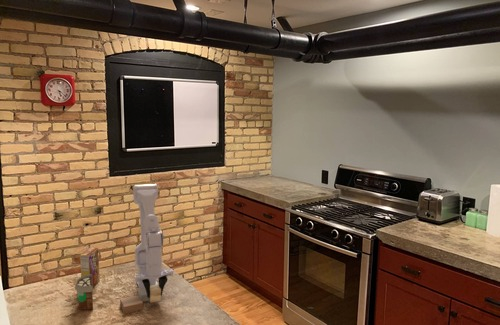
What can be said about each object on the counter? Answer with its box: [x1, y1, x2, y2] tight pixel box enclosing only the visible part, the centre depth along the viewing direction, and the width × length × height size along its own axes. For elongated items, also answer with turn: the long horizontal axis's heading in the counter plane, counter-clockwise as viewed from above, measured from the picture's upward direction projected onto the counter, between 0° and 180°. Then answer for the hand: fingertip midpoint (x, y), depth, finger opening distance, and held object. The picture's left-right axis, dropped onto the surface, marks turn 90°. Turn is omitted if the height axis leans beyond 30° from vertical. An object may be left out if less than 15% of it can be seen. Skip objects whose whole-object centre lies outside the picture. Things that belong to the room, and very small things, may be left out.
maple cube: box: [148, 283, 162, 304], centre depth 147 cm, size 4×4×5 cm
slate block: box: [137, 287, 150, 303], centre depth 153 cm, size 7×7×3 cm
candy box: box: [79, 247, 101, 289], centre depth 162 cm, size 9×4×15 cm, turn 177°
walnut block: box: [119, 294, 144, 314], centre depth 144 cm, size 7×7×3 cm
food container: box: [74, 274, 94, 312], centre depth 144 cm, size 12×6×10 cm, turn 23°
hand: (154, 295), depth 147 cm, fingers closed on maple cube, 4 cm apart
